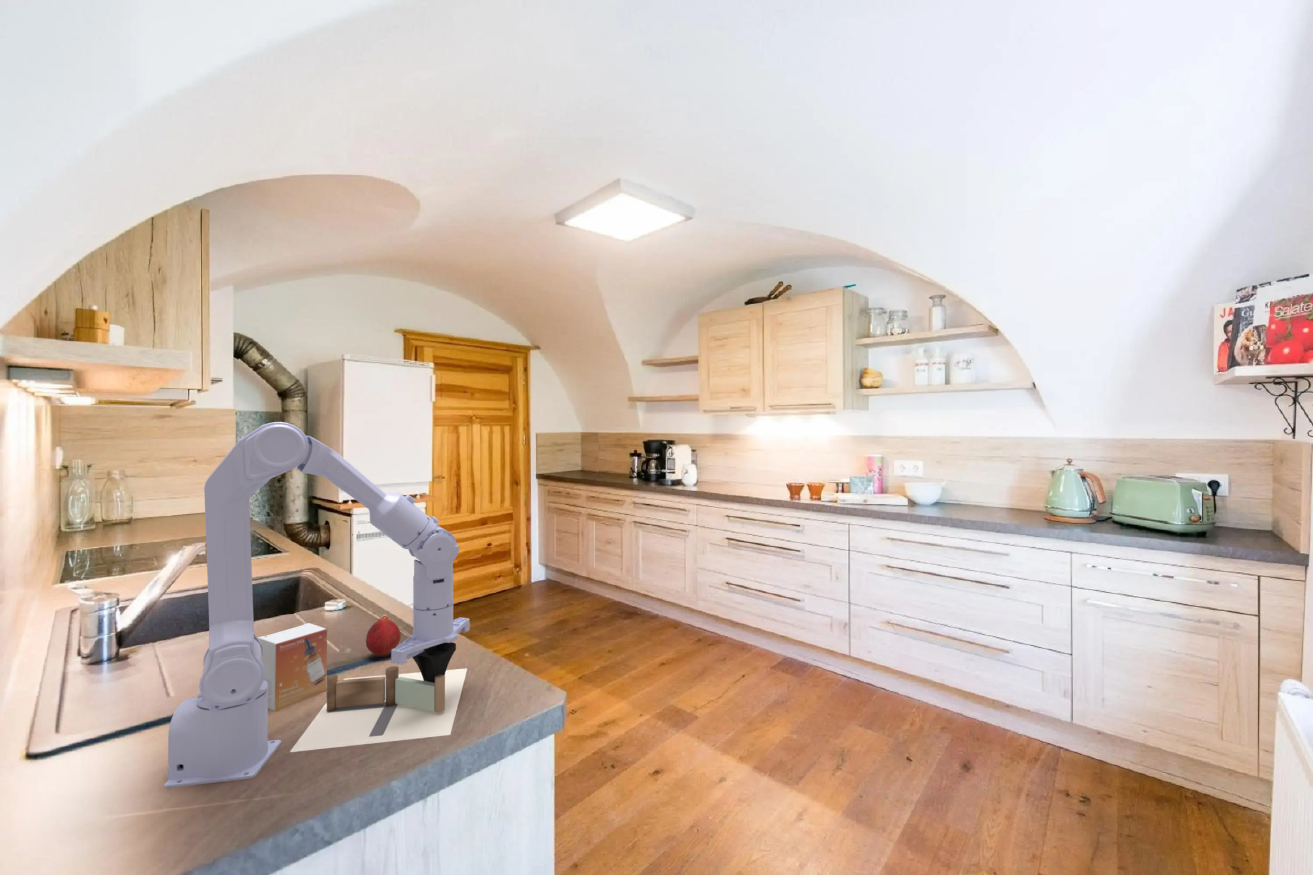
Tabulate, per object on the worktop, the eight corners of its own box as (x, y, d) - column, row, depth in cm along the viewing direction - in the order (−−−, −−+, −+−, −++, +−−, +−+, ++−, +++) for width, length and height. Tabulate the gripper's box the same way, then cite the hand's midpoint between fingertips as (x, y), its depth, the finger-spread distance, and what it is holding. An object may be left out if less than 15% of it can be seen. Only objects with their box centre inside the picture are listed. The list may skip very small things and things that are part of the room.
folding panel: (394, 703, 84) (394, 671, 84) (401, 699, 86) (401, 667, 86) (440, 712, 82) (440, 679, 82) (446, 708, 83) (446, 675, 83)
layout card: (289, 754, 72) (289, 751, 72) (344, 680, 94) (344, 678, 94) (450, 736, 77) (450, 734, 77) (467, 669, 98) (467, 667, 98)
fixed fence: (324, 712, 83) (325, 676, 82) (329, 707, 84) (329, 671, 84) (396, 706, 85) (397, 670, 85) (399, 700, 87) (399, 665, 86)
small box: (274, 713, 83) (274, 644, 83) (255, 704, 86) (255, 636, 85) (328, 692, 90) (328, 627, 90) (309, 683, 93) (309, 621, 92)
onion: (375, 666, 100) (375, 622, 99) (360, 658, 103) (360, 615, 103) (406, 656, 104) (406, 614, 104) (390, 648, 108) (391, 607, 108)
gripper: (418, 623, 76) (418, 720, 77) (485, 594, 90) (484, 676, 90) (379, 617, 79) (379, 711, 79) (450, 589, 93) (449, 669, 93)
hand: (433, 692), depth 85 cm, fingers closed
